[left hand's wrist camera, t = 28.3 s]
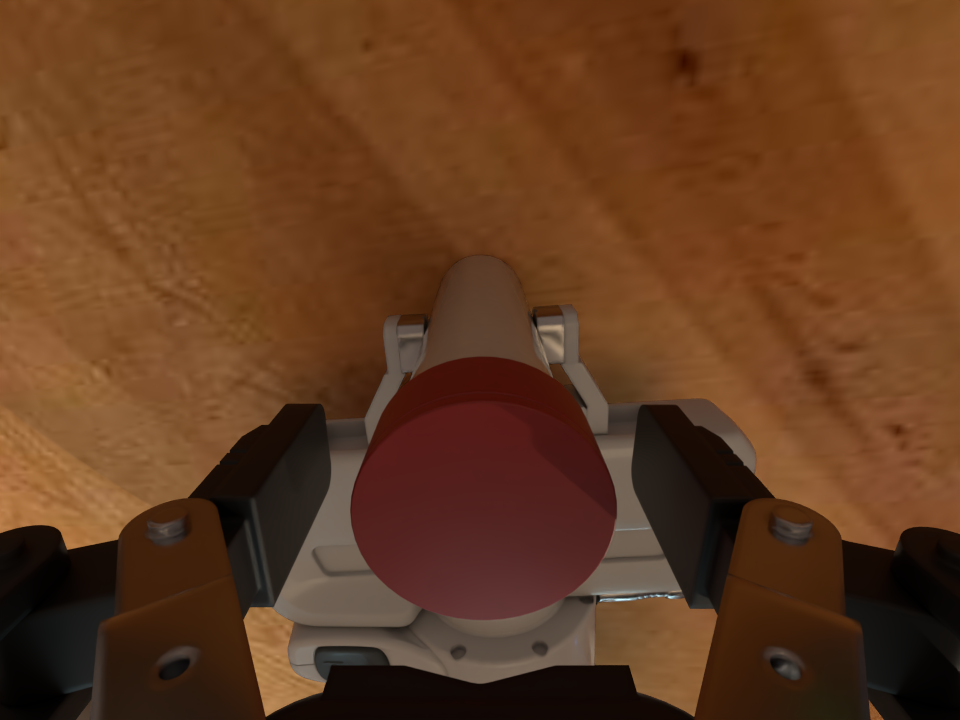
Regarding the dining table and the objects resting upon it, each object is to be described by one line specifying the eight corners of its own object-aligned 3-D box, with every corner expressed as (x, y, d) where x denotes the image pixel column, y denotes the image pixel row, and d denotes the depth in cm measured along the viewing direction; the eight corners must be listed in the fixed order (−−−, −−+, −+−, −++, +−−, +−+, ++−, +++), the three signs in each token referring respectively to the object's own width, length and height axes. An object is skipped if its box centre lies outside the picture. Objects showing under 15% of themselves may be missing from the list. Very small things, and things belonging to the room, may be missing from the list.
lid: (326, 446, 11) (293, 508, 9) (498, 307, 10) (503, 343, 8) (470, 577, 12) (468, 656, 10) (635, 468, 11) (669, 535, 9)
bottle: (438, 335, 25) (382, 573, 10) (439, 253, 24) (374, 396, 9) (519, 338, 25) (576, 578, 11) (525, 256, 24) (600, 403, 9)
